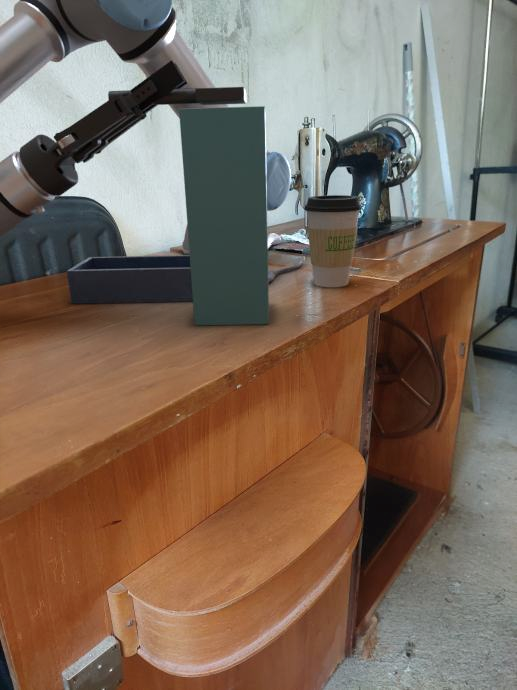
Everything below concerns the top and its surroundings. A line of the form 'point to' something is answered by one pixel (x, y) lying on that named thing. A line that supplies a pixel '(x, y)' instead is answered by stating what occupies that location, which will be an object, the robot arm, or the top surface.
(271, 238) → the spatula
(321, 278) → the coffee cup
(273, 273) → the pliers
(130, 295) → the tray
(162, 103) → the black spatula
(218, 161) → the teal stand
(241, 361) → the top surface
